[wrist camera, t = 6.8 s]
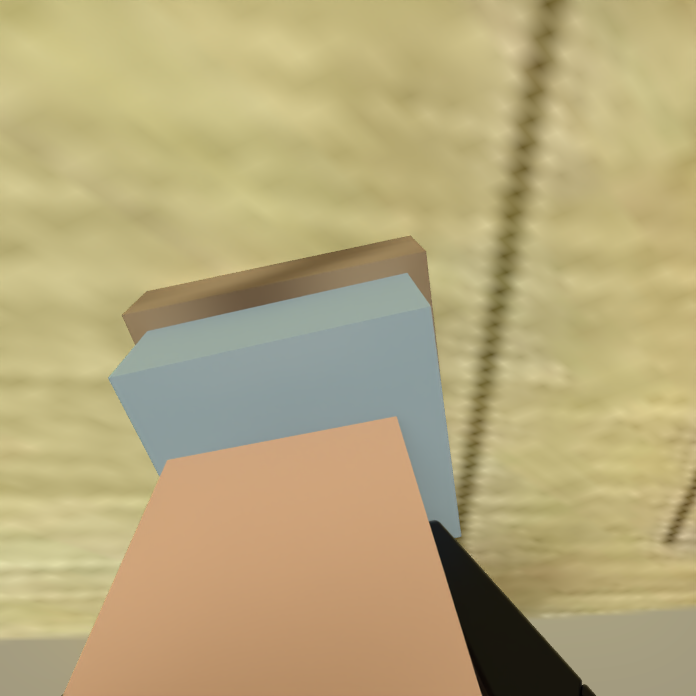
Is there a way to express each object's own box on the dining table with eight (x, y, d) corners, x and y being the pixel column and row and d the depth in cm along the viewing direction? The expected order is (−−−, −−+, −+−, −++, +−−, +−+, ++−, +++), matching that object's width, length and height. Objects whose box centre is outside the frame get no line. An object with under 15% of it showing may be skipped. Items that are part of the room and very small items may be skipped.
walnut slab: (407, 232, 14) (425, 250, 11) (434, 438, 17) (452, 484, 15) (152, 285, 14) (121, 315, 11) (231, 479, 17) (219, 530, 15)
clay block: (396, 416, 8) (493, 733, 4) (420, 571, 10) (502, 899, 6) (166, 460, 9) (7, 821, 4) (233, 606, 10) (176, 958, 6)
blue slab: (407, 272, 11) (430, 305, 9) (438, 474, 15) (461, 536, 12) (147, 331, 12) (108, 378, 9) (231, 518, 15) (217, 588, 12)
